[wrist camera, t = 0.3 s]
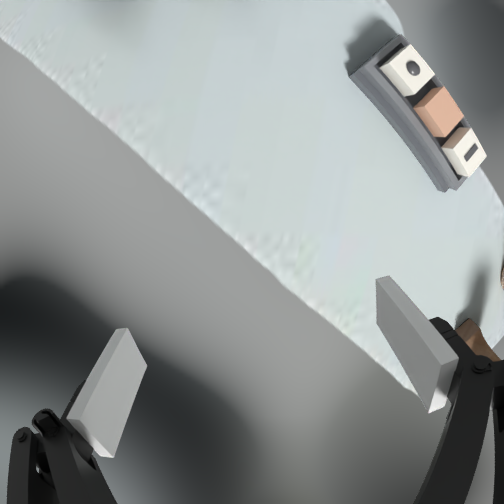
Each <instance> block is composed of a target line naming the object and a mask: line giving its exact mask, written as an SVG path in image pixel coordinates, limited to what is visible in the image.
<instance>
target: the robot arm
mask: <svg viewBox="0 0 504 504" xmlns="http://www.w3.org/2000/svg"><path fill="white" fill-rule="evenodd" d="M376 309H377V325H378V326H379V328H380V330H381V331H382V333H383V335H384V336H385V338H386V340H387V341H388V343H389V345H390V346H391V348H392V350H393V351H394V353H395V355H396V356H397V358H398V360H399V362H400V363H401V365H402V367H403V368H404V370H405V372H406V374H407V375H408V377H409V379H410V381H411V383H412V384H413V386H414V388H415V390H416V391H417V393H418V395H419V397H420V399H421V401H422V402H423V404H424V406H425V408H426V410H427V412H428V413H430V412H433V411H435V410H437V409H440V408H442V407H444V406H445V403H446V400H447V397H448V399H449V400H450V402H451V407H450V410H449V412H448V415H447V418H446V419H447V420H446V423H445V427H444V430H443V433H442V436H441V438H440V441H439V444H438V447H437V450H436V452H435V455H434V457H433V460H432V462H431V465H430V467H429V470H428V472H427V474H426V477H425V479H424V481H423V483H422V486H421V488H420V490H419V492H418V494H417V496H416V499H415V500H414V502H413V504H464V502H465V500H466V497H467V494H468V491H469V489H470V486H471V483H472V480H473V476H474V473H475V470H476V467H477V463H478V460H479V456H480V452H481V449H482V445H483V440H484V436H485V431H486V427H487V422H488V416H489V411H491V410H492V411H493V422H494V438H495V439H494V441H495V478H494V495H493V504H504V360H500V361H492V360H491V359H490V358H488V357H487V356H483V355H476V354H475V353H474V352H473V351H472V350H471V348H470V347H469V346H468V345H467V344H466V342H465V341H464V340H463V339H462V338H461V337H460V336H458V333H457V332H456V331H455V330H453V328H452V327H451V325H450V324H449V323H448V322H447V321H445V320H443V319H441V318H439V317H436V318H433V319H430V320H428V319H427V318H426V317H425V315H424V314H423V313H422V312H421V311H420V310H419V308H418V307H417V306H416V305H415V304H414V303H413V301H412V300H411V299H410V298H409V297H408V296H407V295H406V294H405V292H404V291H403V290H402V289H401V288H400V287H399V286H398V285H397V284H396V282H395V281H394V280H393V279H392V278H391V277H390V276H386V277H382V278H378V279H376ZM146 367H147V365H146V363H145V361H144V359H143V357H142V356H141V354H140V352H139V350H138V348H137V346H136V344H135V342H134V340H133V338H132V336H131V334H130V332H129V330H128V328H123V329H116V331H115V332H114V334H113V336H112V337H111V339H110V341H109V343H108V344H107V346H106V347H105V349H104V351H103V353H102V354H101V356H100V358H99V359H98V361H97V363H96V365H95V366H94V368H93V370H92V372H91V374H90V375H89V377H88V379H87V380H84V381H83V382H82V383H81V384H80V385H79V386H78V388H77V389H76V391H75V393H74V396H73V397H72V399H71V402H69V404H68V406H67V408H66V409H65V411H64V413H63V415H62V417H61V419H59V418H58V417H57V416H56V415H55V413H54V412H53V411H52V410H50V409H43V410H41V411H39V412H38V413H37V414H36V415H35V416H34V418H33V419H32V425H33V427H34V428H35V429H36V430H37V431H38V432H39V433H37V434H34V433H33V432H32V431H31V430H30V428H28V427H23V428H21V429H19V430H18V431H16V433H15V434H14V437H13V441H12V447H11V454H10V463H9V473H8V486H7V504H117V502H116V500H115V499H114V497H113V495H112V493H111V491H110V489H109V487H108V485H107V483H106V481H105V479H104V477H103V475H102V472H101V470H100V468H99V466H98V464H97V461H96V459H95V458H94V457H93V455H92V452H93V449H94V450H95V451H96V452H97V453H98V454H99V455H100V456H105V457H112V458H114V455H115V452H116V449H117V446H118V444H119V441H120V438H121V435H122V431H123V429H124V426H125V423H126V421H127V417H128V415H129V412H130V409H131V407H132V404H133V401H134V398H135V396H136V393H137V390H138V388H139V385H140V383H141V380H142V377H143V374H144V372H145V370H146ZM36 466H37V467H38V468H39V473H38V472H37V470H36Z"/></svg>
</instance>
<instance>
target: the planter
mask: <svg viewBox="0 0 504 504" xmlns="http://www.w3.org/2000/svg"><path fill="white" fill-rule="evenodd" d="M501 283H502V287H503V289H504V268H503V272H502V279H501Z"/></svg>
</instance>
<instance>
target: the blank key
mask: <svg viewBox="0 0 504 504" xmlns="http://www.w3.org/2000/svg"><path fill="white" fill-rule="evenodd" d="M413 109H414V110H415V111H416V113H417V114H418V115H419V117H420V118H421V119H422V121H423V122H424V124H425V125H426V126H427V128H428V129H429V131H430V132H431V133H432V135H433V136H434V137H446V136H447V135H448V134H449V133H450V132H451V130H452V129H453V128H454V127H455V126H456V125H457V124H458V123H459V121H460V120H461V119H462V118H463V117H464V115H463V114H462V112H461V111H460V109H459V108H458V106H457V104H456V103H455V101H454V100H453V98H452V97H451V96H450V94H449V93H448V91H447V90H446V88H445V87H444V86H443V87H438V88H433V89H431V90H430V91H429V92H428V93H427V94H426V95H425V97H424V98H423V99H422V100H421V101H420V102H419V103H418V104H417V105H416V106H415V107H414V108H413Z"/></svg>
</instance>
